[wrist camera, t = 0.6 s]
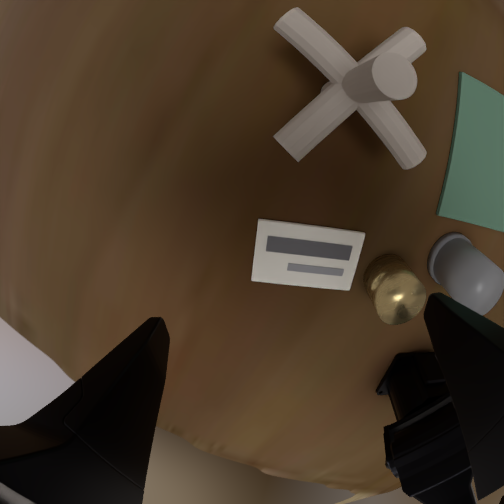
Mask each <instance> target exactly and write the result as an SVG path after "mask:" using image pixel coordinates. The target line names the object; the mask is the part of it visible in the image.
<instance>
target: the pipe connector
mask: <svg viewBox="0 0 504 504" xmlns="http://www.w3.org/2000/svg"><path fill="white" fill-rule="evenodd" d="M273 29H274V30H275V31H277V32H278V33H279V34H280V35H281V36H283V37H284V38H285V39H286V40H287V41H288V42H290V43H291V44H292V45H293V46H294V47H295V48H296V49H297V50H299V51H300V52H301V53H302V54H303V55H304V56H305V57H306V58H307V59H308V60H309V61H310V62H311V63H312V64H313V65H314V66H316V67H317V68H318V69H319V70H320V71H321V72H322V73H323V74H324V75H325V76H326V77H327V78H328V79H329V80H330V81H329V82H327V83H326V84H324V85H323V87H322V89H321V93H320V94H319V95H318V96H317V97H316V98H315V99H313V100H312V101H311V102H310V103H309V104H308V105H307V106H306V107H304V108H303V109H302V110H301V111H300V112H299V113H298V114H297V115H296V116H294V117H293V118H292V119H291V120H290V121H289V122H288V123H287V124H286V125H285V126H284V127H283V128H281V129H280V130H279V131H278V132H277V133H276V134H275V135H274V136H273V137H274V138H275V139H276V140H277V141H278V142H279V143H280V144H281V145H282V146H283V147H284V148H285V149H286V151H287V152H288V153H289V154H290V155H291V156H292V157H293V158H294V159H295V160H297V161H298V162H299V161H300V160H301V159H302V158H303V157H304V156H305V155H306V154H307V153H309V152H310V151H311V150H312V149H313V148H314V147H315V146H316V145H317V144H318V143H320V142H321V141H322V140H323V139H324V138H325V137H326V136H327V135H328V134H330V133H331V132H332V131H333V130H334V129H335V128H336V127H337V126H339V125H340V124H341V123H342V122H343V121H344V120H345V119H346V118H348V117H349V116H350V115H351V114H352V113H353V112H354V111H356V110H357V111H358V112H359V113H360V115H361V116H362V117H363V118H364V119H365V121H366V122H367V123H368V124H369V125H370V127H371V128H372V129H373V130H374V132H375V133H376V134H377V135H378V137H379V138H380V139H381V140H382V142H383V143H384V144H385V146H386V147H387V148H388V150H389V151H390V152H391V154H392V155H393V156H394V158H395V159H396V160H397V162H398V163H399V165H400V166H401V167H402V169H410V168H413V167H415V166H416V165H418V164H419V163H421V162H422V161H423V159H424V158H425V157H426V153H427V152H426V150H425V148H424V147H423V145H422V144H421V142H420V141H419V139H418V138H417V137H416V135H415V134H414V132H413V131H412V129H411V128H410V127H409V125H408V124H407V122H406V121H405V120H404V118H403V117H402V116H401V114H400V113H399V112H398V110H397V109H396V108H395V106H394V105H393V104H392V103H391V100H402V99H406V98H408V97H410V96H411V95H412V94H413V93H414V91H415V89H416V87H417V75H416V72H415V69H414V68H413V66H412V64H411V63H412V62H413V61H414V60H416V59H417V58H418V57H419V56H421V55H422V54H423V53H424V52H425V51H426V44H425V42H424V41H423V39H422V38H421V36H420V35H419V34H418V33H416V32H415V31H414V30H412V29H410V28H408V27H402V28H401V29H400V30H398V31H397V32H396V33H394V34H393V35H392V36H390V37H389V38H388V39H386V40H385V41H384V42H382V43H381V44H380V45H379V46H377V47H376V48H375V49H373V50H372V51H371V52H370V53H368V54H367V55H366V56H365V57H363V58H362V59H361V60H360V61H358V62H356V61H355V60H354V59H353V58H352V57H351V56H350V55H349V54H348V53H347V51H346V50H345V49H344V48H343V47H342V46H341V45H339V44H338V43H337V42H336V41H335V40H334V39H333V38H332V37H331V36H330V35H329V34H328V33H327V32H326V31H325V30H324V29H323V28H321V27H320V26H319V25H318V24H317V23H316V22H315V21H314V20H312V19H311V18H310V17H309V16H308V15H307V14H305V13H304V12H303V11H302V10H301V9H299V8H298V7H296V8H293V9H292V10H290V11H289V12H287V13H286V14H285V15H284V16H282V17H281V18H280V19H279V20H278V22H277V23H276V24H275V26H274V28H273Z"/></svg>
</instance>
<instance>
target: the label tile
mask: <svg viewBox="0 0 504 504" xmlns="http://www.w3.org/2000/svg"><path fill="white" fill-rule="evenodd" d="M364 238H365V233H364V232H359V231H352V230H345V229H338V228H331V227H323V226H316V225H308V224H300V223H292V222H284V221H276V220H267V219H258V227H257V235H256V244H255V252H254V261H253V269H252V277H251V281H257V282H267V283H276V284H285V285H295V286H305V287H316V288H326V289H337V290H348V291H349V290H350V287H351V284H352V281H353V277H354V274H355V270H356V267H357V263H358V260H359V256H360V253H361V249H362V245H363V241H364Z"/></svg>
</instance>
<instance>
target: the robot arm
mask: <svg viewBox="0 0 504 504" xmlns="http://www.w3.org/2000/svg"><path fill="white" fill-rule="evenodd" d="M424 320H425V323H426V326H427V329H428V332H429V335H430V339H431V342H432V345H433V349H434V352H435V353H415V354H399V355H397V356H396V357H395V359H394V361H393V362H392V364H391V366H390V368H389V370H388V371H387V373H386V375H385V376H384V378H383V380H382V382H381V383H380V385H379V387H378V388H377V390H376V393H377V395H388V394H389V397H390V400H391V404H392V407H393V410H394V413H395V416H396V420H397V422H395V423H393V424H391V425H387V426H385V427H384V434H383V435H384V443H385V453H386V461H385V465H386V468H388V469H391V471H392V473H393V474H394V476H395V477H396V478H399V479H400V482H401V486H402V490H403V492H404V493H406V494H407V495H408V496H409V497H412V496H413V497H414V498H415V499H417V500H418V501H420V502H421V503H423V504H477V501H476V498H475V494H474V491H473V488H472V484H471V482H472V478H473V477H474V482H475V487H476V493H477V498H478V500H480V499H482V498H484V497H486V496H488V495H489V494H491V493H493V492H494V491H496V490H497V489H499V488H501V487H502V486H504V328H503V327H501V326H499V325H497V324H496V323H494V322H492V321H491V320H489V319H487V318H485V317H484V316H482V315H480V314H478V313H477V312H475V311H473V310H471V309H470V308H468V307H466V306H464V305H463V304H461V303H459V302H457V301H455V300H453V299H452V298H450V297H448V296H446V295H444V294H442V293H440V292H438V293H432V294H430V295H429V297H428V301H427V304H426V307H425V311H424ZM169 344H170V337H169V333H168V331H167V328H166V325H165V322H164V320H163V318H161V317H151V318H149V319H148V320H146V321H145V322H144V323H143V324H142V325H141V326H139V327H138V328H137V329H136V330H135V331H134V332H133V333H131V334H130V335H129V336H128V337H127V338H126V339H124V340H123V341H122V342H121V343H120V344H119V345H117V346H116V347H115V348H114V349H113V350H112V351H111V352H109V353H108V354H107V355H106V356H105V357H104V358H103V359H101V360H100V361H99V362H98V363H97V364H96V365H95V366H93V367H92V368H91V369H90V370H89V371H88V372H87V373H85V374H84V375H83V376H82V377H81V378H80V379H79V380H77V381H76V382H75V383H74V384H73V385H72V386H71V387H69V388H68V389H67V390H66V391H65V392H63V393H62V394H61V395H60V396H58V397H57V398H56V399H54V400H53V401H52V402H51V403H49V404H48V405H46V406H45V407H44V408H42V409H41V410H40V411H38V412H37V413H36V414H34V415H33V416H31V417H30V418H29V419H27V420H26V421H24V422H22V423H20V424H17V425H11V426H0V504H142V501H143V494H144V487H145V481H146V475H147V469H148V464H149V458H150V453H151V448H152V442H153V437H154V432H155V427H156V422H157V417H158V413H159V408H160V403H161V399H162V394H163V390H164V385H165V379H166V371H167V361H168V353H169ZM499 504H504V496H502V498H501V501H500V503H499Z"/></svg>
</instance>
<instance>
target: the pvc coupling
mask: <svg viewBox="0 0 504 504" xmlns="http://www.w3.org/2000/svg"><path fill="white" fill-rule="evenodd" d="M427 268H428V272H429V274H430V276H431V277H432V278H433V279H434V280H435V282H437V283H438V284H440V285H442V286H443V287H444V289H445V290H446V291H447V292H448V293H449V295H450V296H451V297H452V298H453V300H455V301H457V302H459V303H461V304H463V305H464V306H466V307H468V308H470V309H471V310H473V311H475V312H477V313H478V314H480V315H482V316H483V315H484V314H486V313H487V312H488V311H490V310H491V309H492V308H493V307H494V305H495V304H496V303H497V301H498V300H499V298H500V296H501V294H502V292H503V289H504V273H503V271H502V270H501V269H500V268H499V267H498V266H497V265H495V264H494V263H493V262H492V261H491V260H490V259H488V258H487V257H486V256H485V255H484V254H483V253H481V252H480V251H479V250H478V249H476V248H475V247H474V246H473V245H472V244H471V242H470V240H469V239H468V238H466V237H465V236H464V235H462V234H461V233H458V232H450V233H447V234H445V235H443V236H442V237H441V238H440V239H438V240H437V242H436V243H435V244H434V245H433V247H432V249H431V251H430V253H429V256H428V261H427Z"/></svg>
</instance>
